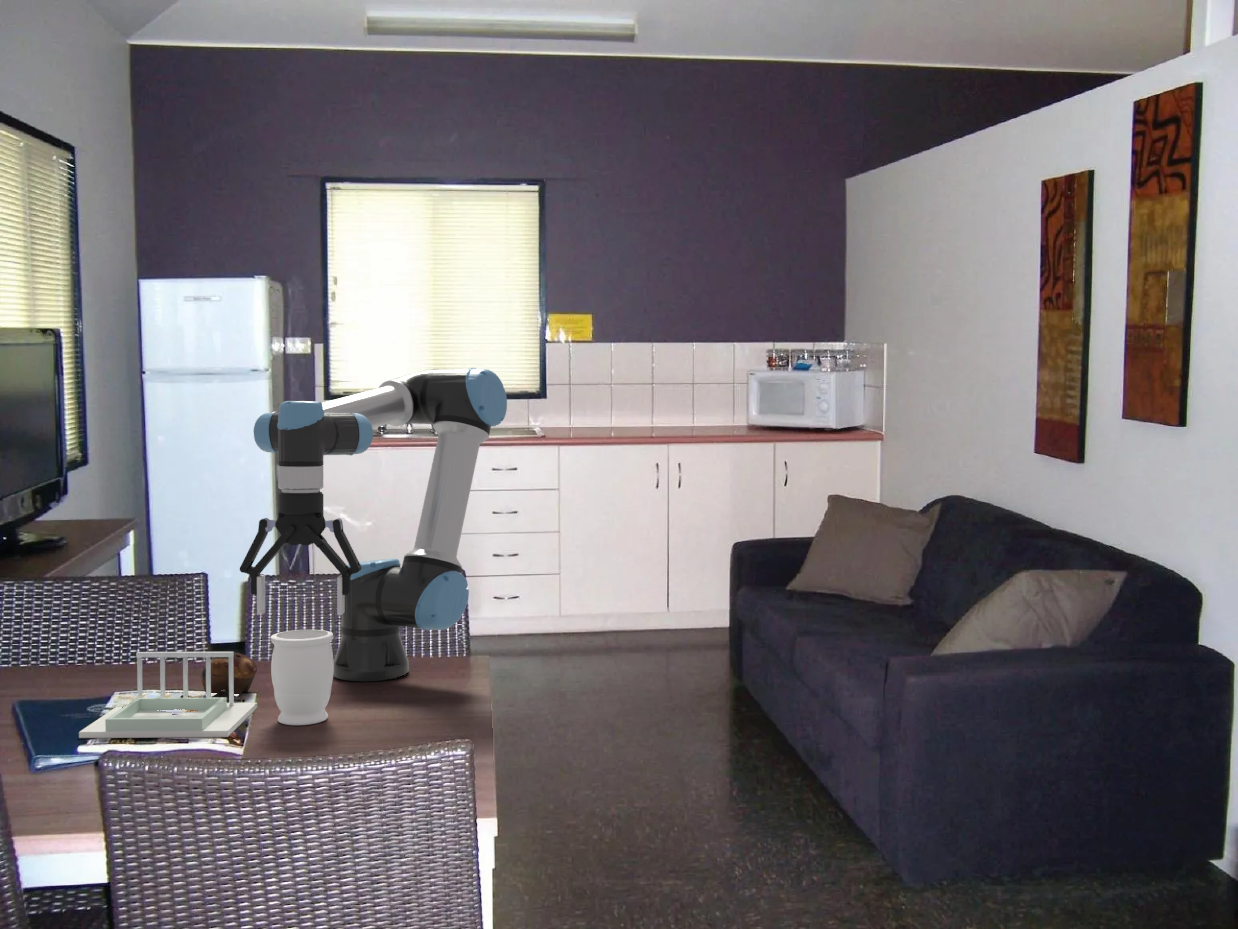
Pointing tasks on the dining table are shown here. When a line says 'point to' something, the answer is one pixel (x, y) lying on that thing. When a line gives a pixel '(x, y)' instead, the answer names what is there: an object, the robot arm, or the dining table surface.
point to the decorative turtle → (241, 669)
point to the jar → (302, 675)
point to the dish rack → (149, 722)
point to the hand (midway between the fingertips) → (301, 614)
